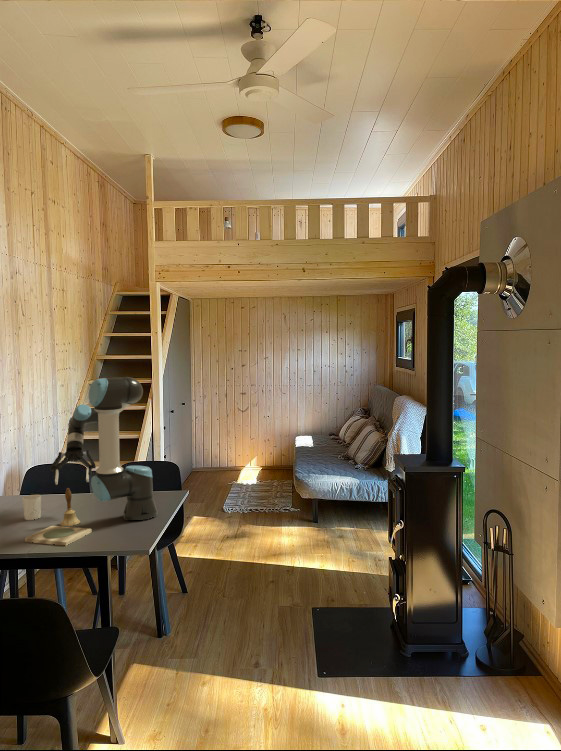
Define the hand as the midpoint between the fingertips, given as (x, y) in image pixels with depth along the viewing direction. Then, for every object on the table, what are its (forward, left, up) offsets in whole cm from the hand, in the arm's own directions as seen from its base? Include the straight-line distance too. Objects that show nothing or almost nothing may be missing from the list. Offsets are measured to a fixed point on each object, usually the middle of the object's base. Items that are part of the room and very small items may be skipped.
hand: (71, 481), depth 251 cm
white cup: (+18, +6, -17) cm, 25 cm away
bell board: (-12, +25, -16) cm, 32 cm away
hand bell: (-5, +9, -17) cm, 20 cm away
